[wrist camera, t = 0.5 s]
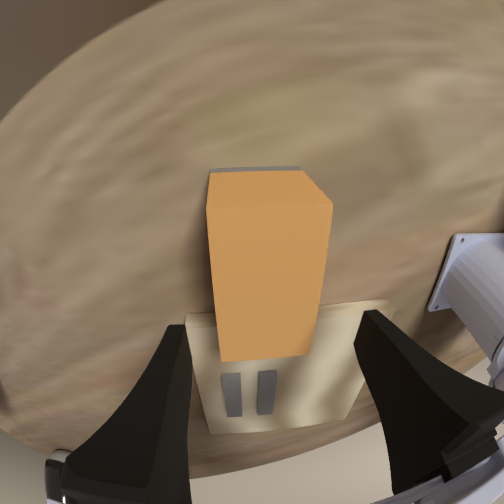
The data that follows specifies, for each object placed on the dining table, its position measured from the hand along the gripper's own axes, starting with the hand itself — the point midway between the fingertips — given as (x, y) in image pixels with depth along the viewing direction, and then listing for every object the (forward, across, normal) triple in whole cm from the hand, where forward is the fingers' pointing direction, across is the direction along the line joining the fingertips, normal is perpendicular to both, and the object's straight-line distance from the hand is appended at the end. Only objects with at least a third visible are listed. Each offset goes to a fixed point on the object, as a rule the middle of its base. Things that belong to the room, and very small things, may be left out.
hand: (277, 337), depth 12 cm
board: (+8, -3, +15) cm, 17 cm away
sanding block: (+8, 0, 0) cm, 8 cm away
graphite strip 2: (+7, -1, +15) cm, 16 cm away
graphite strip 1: (+7, +2, +15) cm, 17 cm away
